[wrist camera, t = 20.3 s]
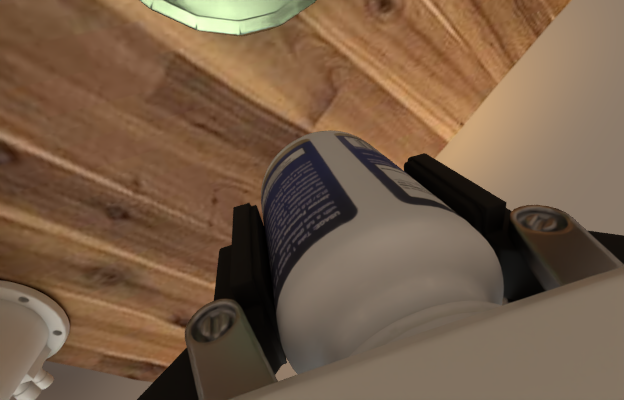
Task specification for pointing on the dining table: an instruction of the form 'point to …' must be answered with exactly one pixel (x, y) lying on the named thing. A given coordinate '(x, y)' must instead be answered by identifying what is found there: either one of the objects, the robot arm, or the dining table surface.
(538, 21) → the dining table surface
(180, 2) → the canister
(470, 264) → the pill bottle
